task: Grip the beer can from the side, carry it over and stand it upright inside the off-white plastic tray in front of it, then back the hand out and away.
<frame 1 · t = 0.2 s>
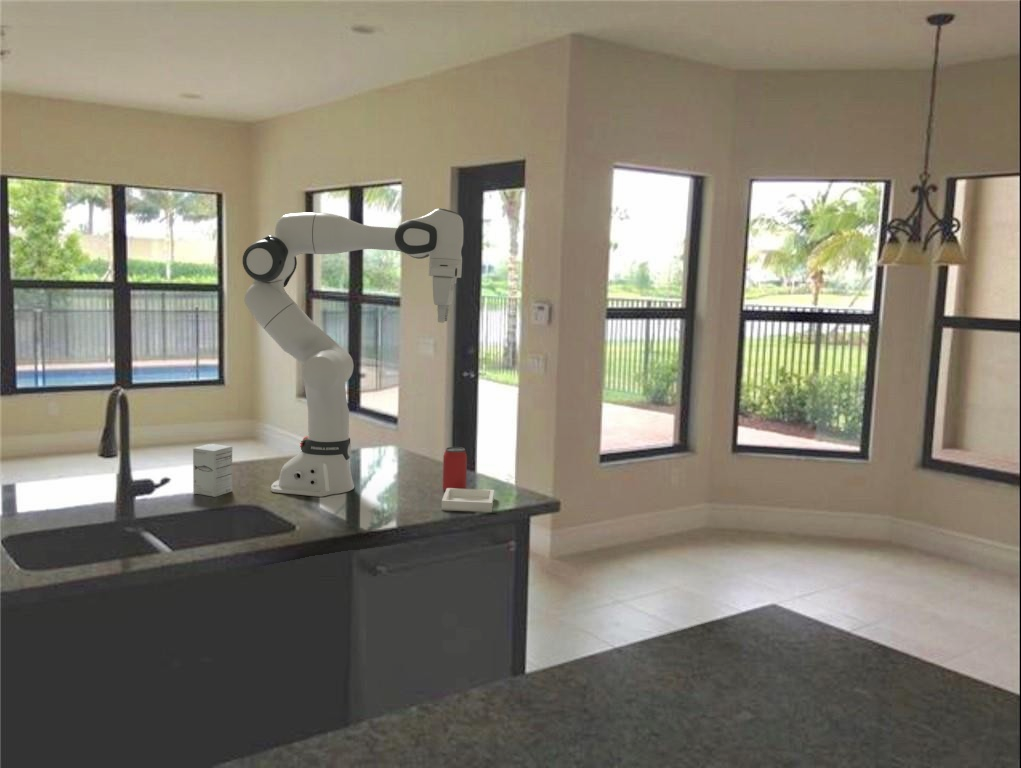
hand: (442, 321, 228), 48 cm above the countertop, tool pointing down, fingers open, 8 cm apart
supplement box: (213, 493, 226), on the countertop
tray: (468, 504, 223), on the countertop
beer can: (454, 491, 237), on the countertop
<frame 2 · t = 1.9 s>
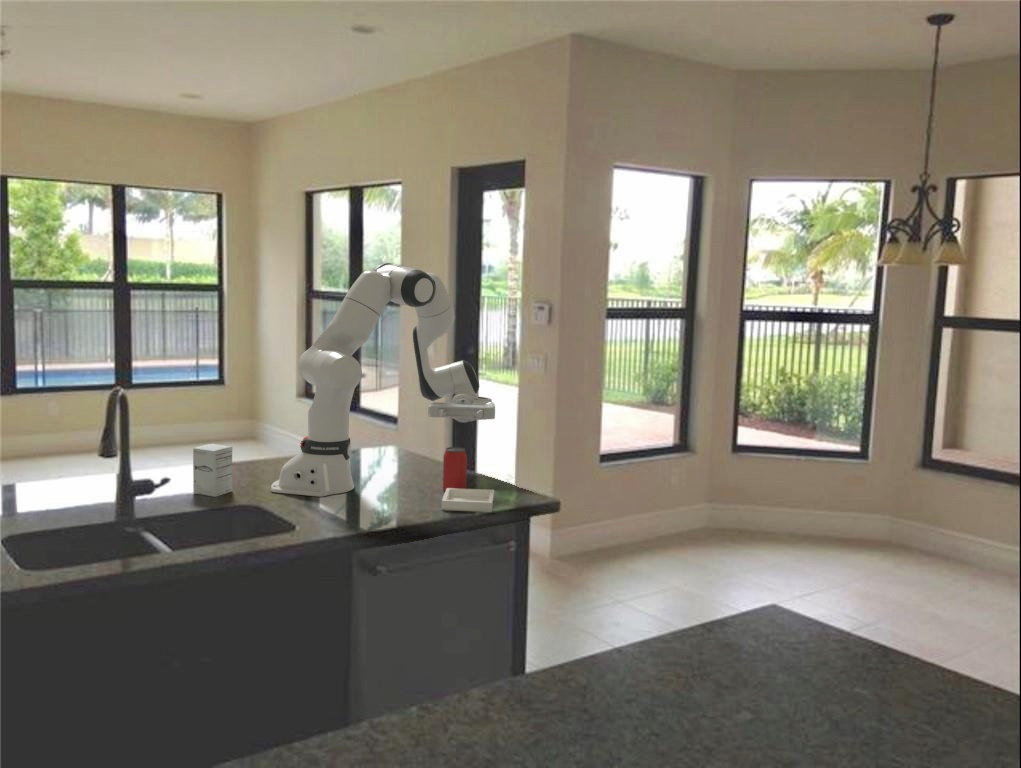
hand: (459, 415, 246), 19 cm above the countertop, tool horizontal, fingers open, 8 cm apart
nothing on the countertop moved.
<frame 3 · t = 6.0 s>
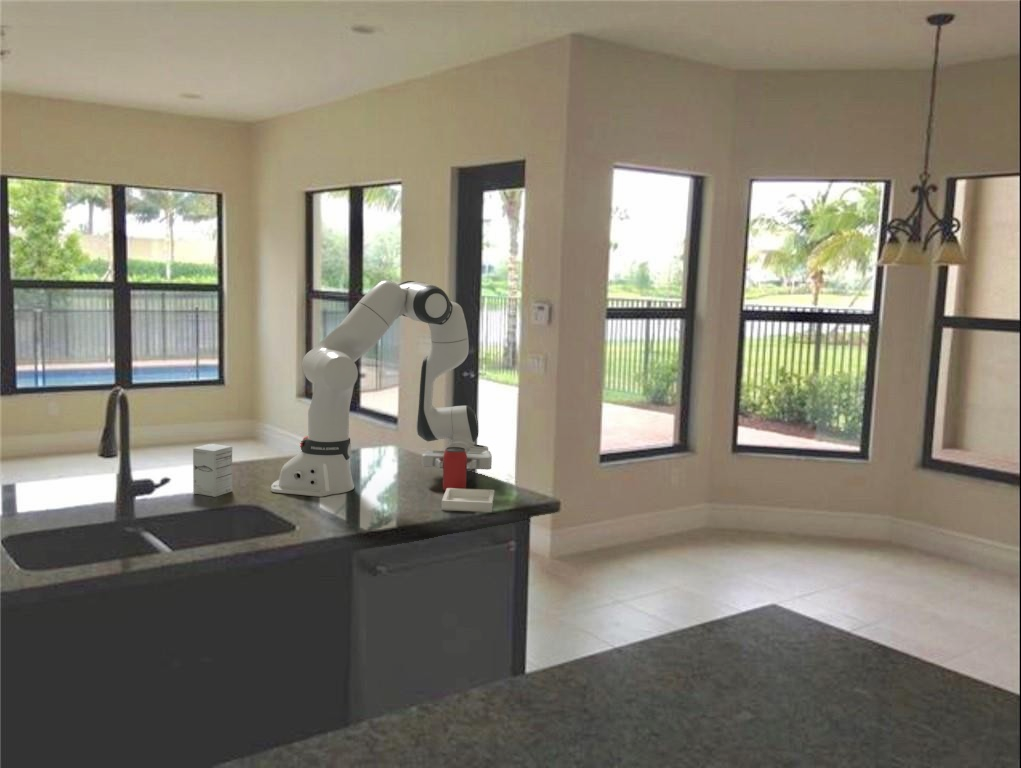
hand: (454, 466, 235), 7 cm above the countertop, tool horizontal, fingers closed on beer can, 7 cm apart
beer can: (454, 491, 237), on the countertop, touching gripper
everything else where it was.
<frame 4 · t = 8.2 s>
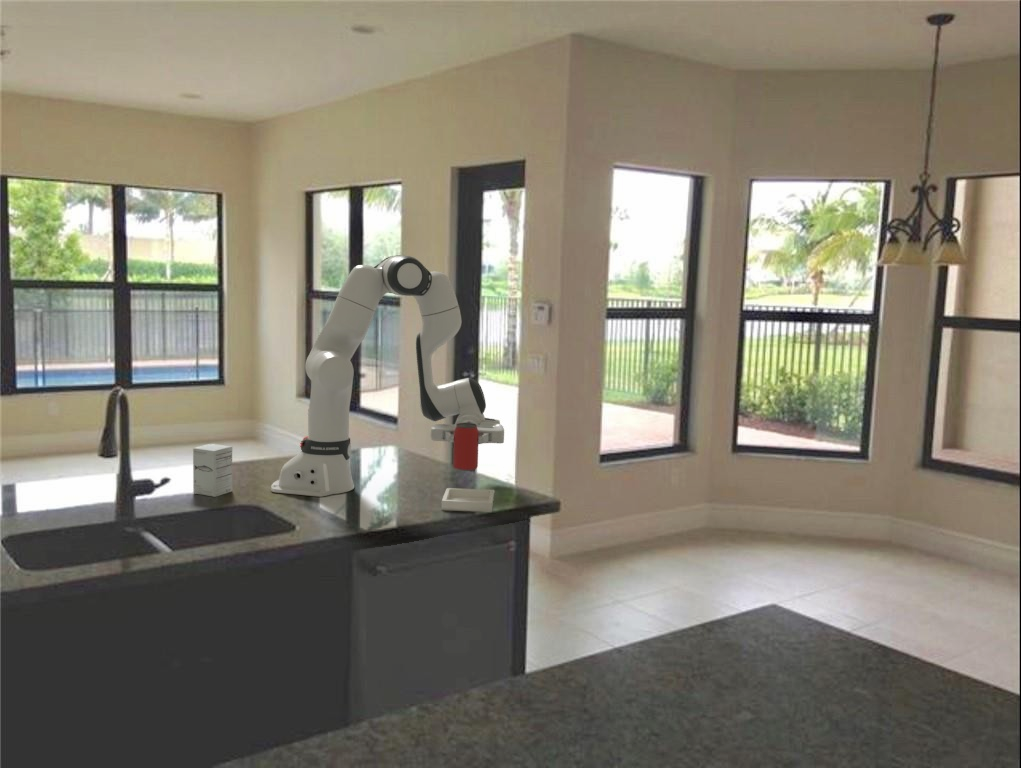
hand: (466, 439, 225), 17 cm above the countertop, tool horizontal, fingers closed on beer can, 7 cm apart
beer can: (465, 469, 227), point 8 cm above the countertop, touching gripper
everything else where it was.
when the fingers open (9 cm above the countertop, at t = 10.6 s): beer can stays where it is, resting on tray.
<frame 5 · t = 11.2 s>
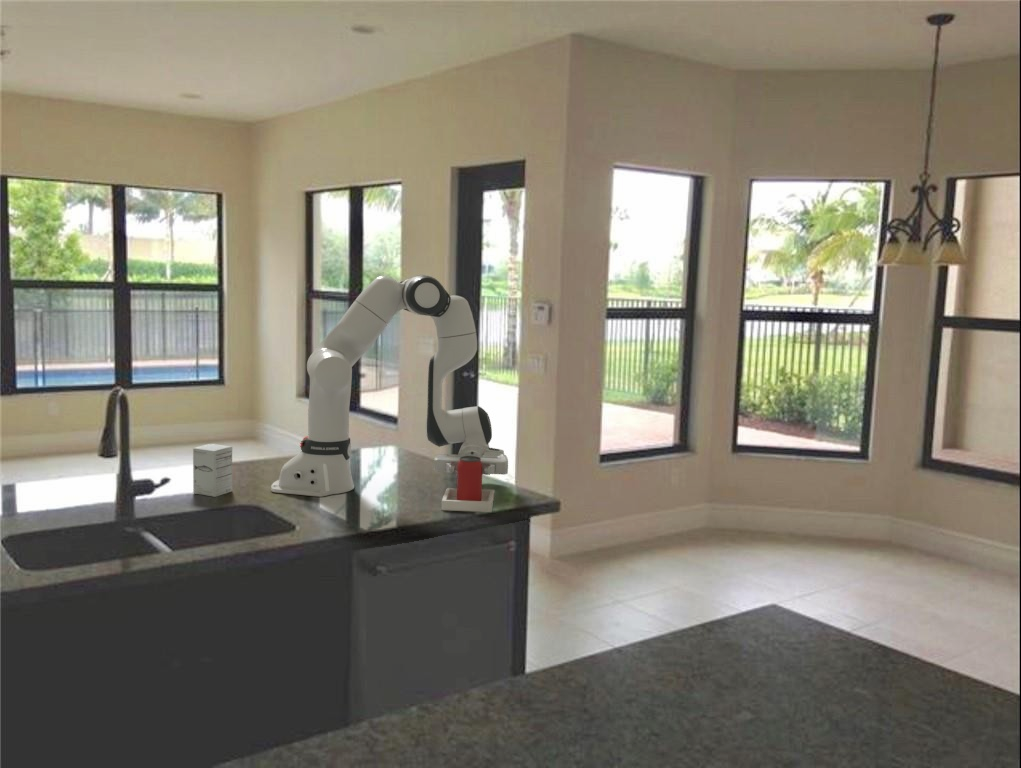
hand: (469, 471, 221), 9 cm above the countertop, tool horizontal, fingers open, 8 cm apart
beer can: (468, 503, 223), resting on tray
everything else where it was.
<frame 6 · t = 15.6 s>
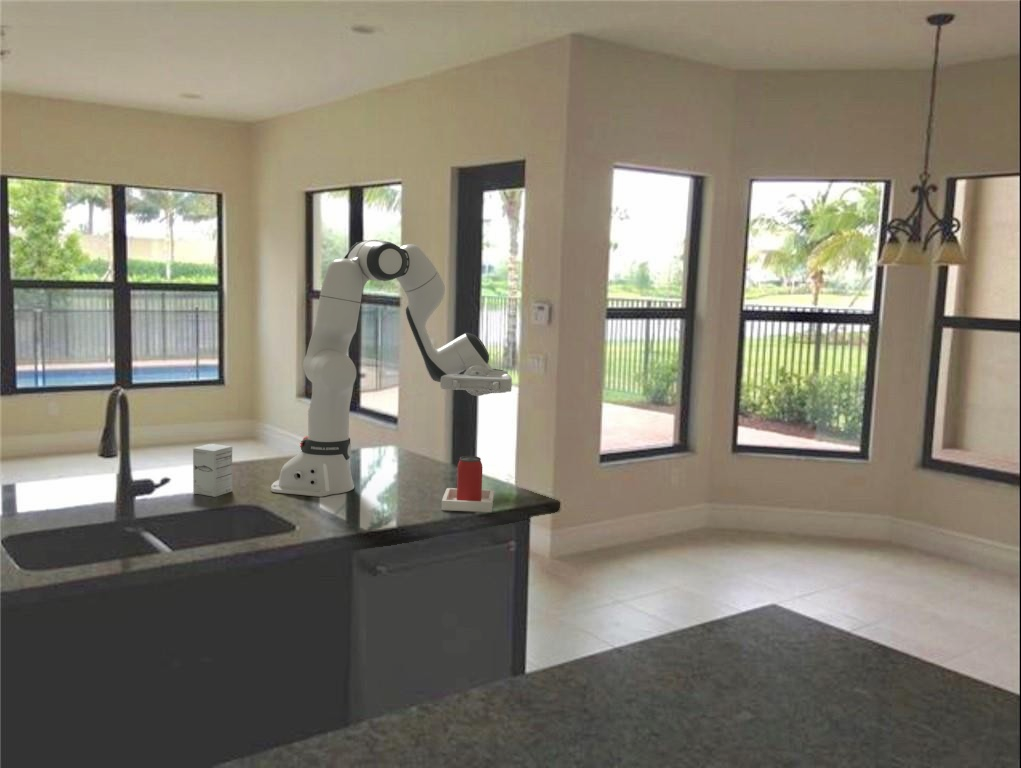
hand: (474, 386, 231), 30 cm above the countertop, tool horizontal, fingers open, 8 cm apart
nothing on the countertop moved.
at the end: beer can 0.1 cm off-centre on the tray, point 0.3 cm above the tray's base; beer can tilted 0°; the gripper is holding nothing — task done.
